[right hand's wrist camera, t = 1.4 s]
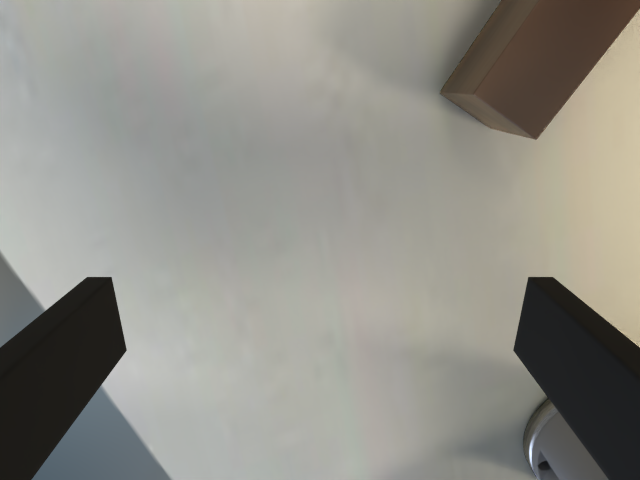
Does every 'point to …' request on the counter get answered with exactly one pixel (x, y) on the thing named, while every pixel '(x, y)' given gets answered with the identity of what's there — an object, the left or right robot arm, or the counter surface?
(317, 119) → the counter surface
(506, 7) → the walnut beam
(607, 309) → the counter surface
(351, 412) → the counter surface
